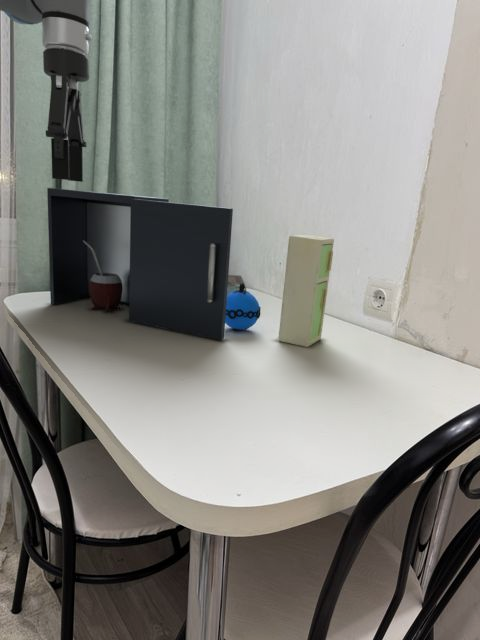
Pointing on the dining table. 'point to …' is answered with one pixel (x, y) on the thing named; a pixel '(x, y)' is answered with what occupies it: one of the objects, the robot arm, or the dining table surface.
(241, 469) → the dining table surface
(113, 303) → the mate gourd
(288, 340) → the toy refrigerator
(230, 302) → the ornament
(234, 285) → the beverage carton
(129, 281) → the sliding door cabinet
